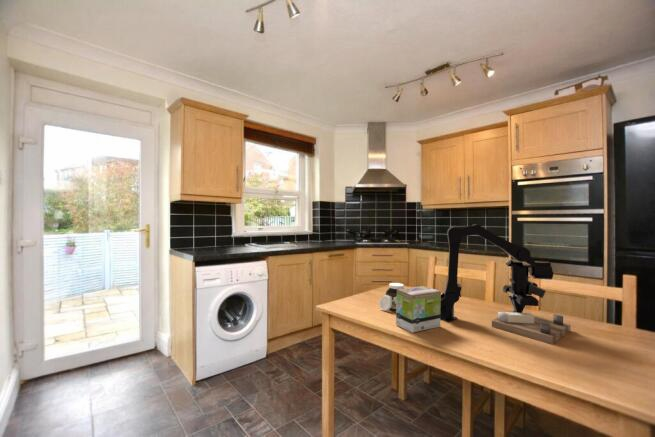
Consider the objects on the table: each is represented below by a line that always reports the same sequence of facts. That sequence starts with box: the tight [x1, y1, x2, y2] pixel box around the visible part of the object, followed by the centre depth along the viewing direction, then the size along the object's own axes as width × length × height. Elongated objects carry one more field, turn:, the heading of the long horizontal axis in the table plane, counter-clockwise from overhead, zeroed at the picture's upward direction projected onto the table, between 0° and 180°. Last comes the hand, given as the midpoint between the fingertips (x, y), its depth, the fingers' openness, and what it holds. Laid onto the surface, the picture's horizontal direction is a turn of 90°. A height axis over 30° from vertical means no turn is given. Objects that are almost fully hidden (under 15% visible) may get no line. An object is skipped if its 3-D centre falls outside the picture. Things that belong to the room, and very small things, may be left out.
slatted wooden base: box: [491, 308, 571, 345], centre depth 114 cm, size 20×20×6 cm
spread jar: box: [378, 282, 405, 312], centre depth 138 cm, size 12×11×12 cm
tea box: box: [395, 285, 442, 334], centre depth 117 cm, size 15×10×15 cm, turn 117°
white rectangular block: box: [497, 311, 535, 323], centre depth 115 cm, size 12×4×3 cm, turn 82°
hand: (519, 315), depth 117 cm, fingers closed
